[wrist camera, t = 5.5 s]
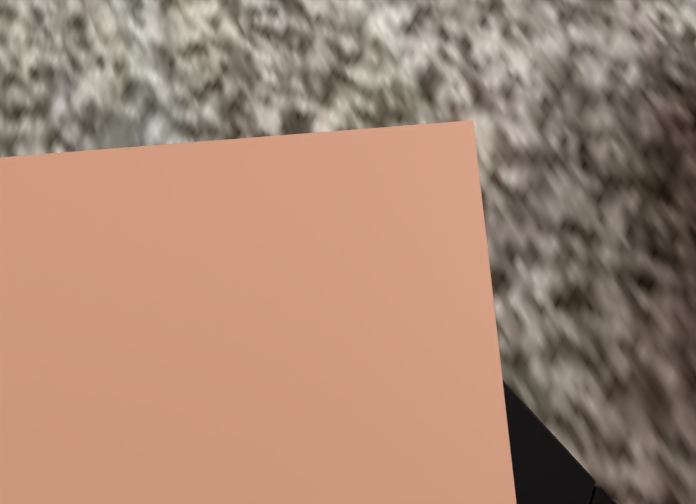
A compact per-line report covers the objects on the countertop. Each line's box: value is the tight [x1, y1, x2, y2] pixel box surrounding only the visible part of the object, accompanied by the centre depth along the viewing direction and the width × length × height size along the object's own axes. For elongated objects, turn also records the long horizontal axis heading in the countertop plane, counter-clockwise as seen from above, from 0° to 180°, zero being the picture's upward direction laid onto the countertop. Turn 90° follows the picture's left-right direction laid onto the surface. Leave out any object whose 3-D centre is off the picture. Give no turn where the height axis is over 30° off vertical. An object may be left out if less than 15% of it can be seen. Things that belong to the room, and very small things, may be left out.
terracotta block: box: [0, 120, 516, 504], centre depth 9 cm, size 5×5×12 cm
